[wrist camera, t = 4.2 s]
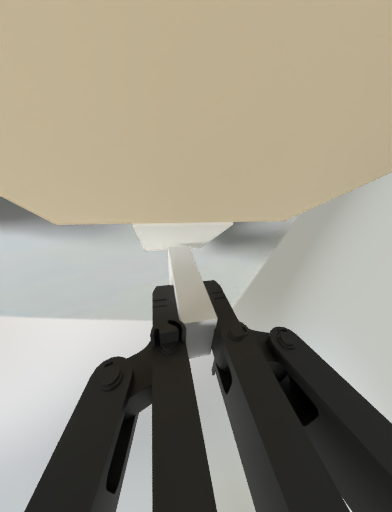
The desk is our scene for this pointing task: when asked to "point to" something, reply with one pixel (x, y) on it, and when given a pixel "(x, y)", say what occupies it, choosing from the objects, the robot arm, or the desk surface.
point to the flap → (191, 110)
